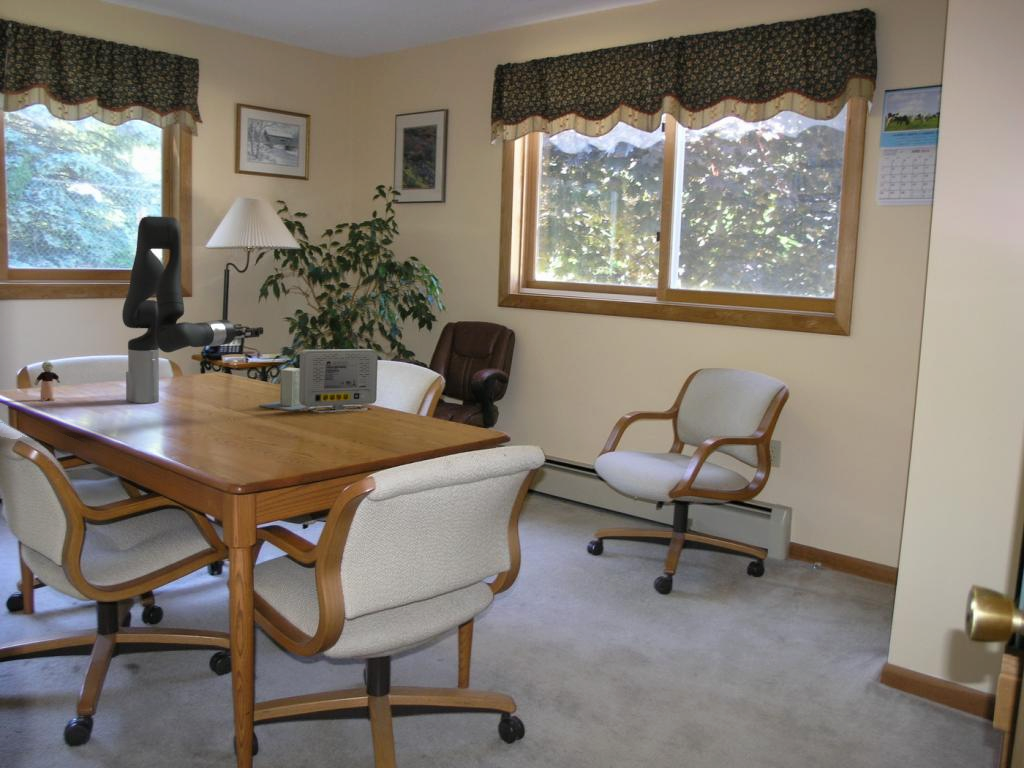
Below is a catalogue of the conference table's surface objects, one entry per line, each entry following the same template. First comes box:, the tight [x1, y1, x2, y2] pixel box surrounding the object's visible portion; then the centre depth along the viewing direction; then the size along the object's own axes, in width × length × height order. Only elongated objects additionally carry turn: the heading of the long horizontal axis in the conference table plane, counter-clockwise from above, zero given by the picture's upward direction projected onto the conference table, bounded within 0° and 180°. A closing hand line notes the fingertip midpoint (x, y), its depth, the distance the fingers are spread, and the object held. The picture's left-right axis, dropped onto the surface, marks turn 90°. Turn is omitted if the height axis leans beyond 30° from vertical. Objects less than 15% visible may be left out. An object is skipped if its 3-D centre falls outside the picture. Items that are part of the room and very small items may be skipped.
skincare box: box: [279, 367, 300, 407], centre depth 292 cm, size 6×4×12 cm
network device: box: [299, 348, 379, 414], centre depth 291 cm, size 26×9×20 cm, turn 122°
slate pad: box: [258, 400, 315, 413], centre depth 293 cm, size 14×14×1 cm
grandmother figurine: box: [34, 360, 61, 402], centre depth 281 cm, size 8×4×13 cm, turn 150°
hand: (251, 329), depth 277 cm, fingers open, 8 cm apart
